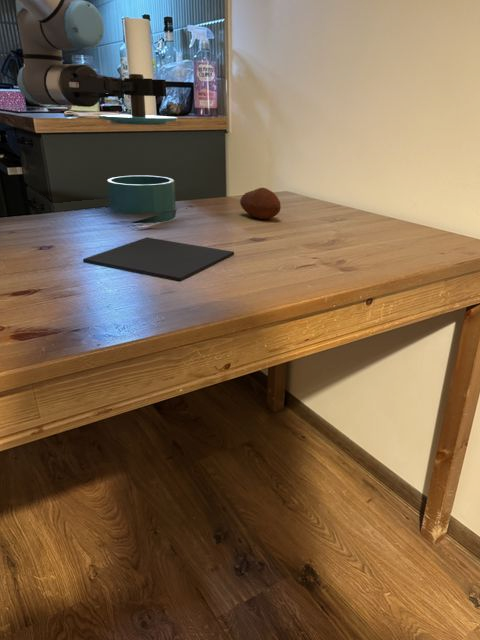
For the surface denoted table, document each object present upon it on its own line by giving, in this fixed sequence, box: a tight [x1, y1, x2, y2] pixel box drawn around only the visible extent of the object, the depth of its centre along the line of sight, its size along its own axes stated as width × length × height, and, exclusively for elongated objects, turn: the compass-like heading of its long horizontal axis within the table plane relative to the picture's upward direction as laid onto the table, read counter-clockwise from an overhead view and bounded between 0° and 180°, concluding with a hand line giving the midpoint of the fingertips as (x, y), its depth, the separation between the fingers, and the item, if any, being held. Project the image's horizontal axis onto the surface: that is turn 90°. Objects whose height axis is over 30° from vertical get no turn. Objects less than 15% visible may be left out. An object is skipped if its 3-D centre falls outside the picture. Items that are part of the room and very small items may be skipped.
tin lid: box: [98, 73, 179, 126], centre depth 93 cm, size 15×15×8 cm
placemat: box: [82, 237, 235, 282], centre depth 80 cm, size 18×16×1 cm
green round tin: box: [106, 175, 177, 224], centre depth 106 cm, size 14×14×8 cm
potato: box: [239, 187, 282, 220], centre depth 109 cm, size 6×12×6 cm, turn 47°
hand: (157, 87), depth 89 cm, fingers closed on tin lid, 3 cm apart
